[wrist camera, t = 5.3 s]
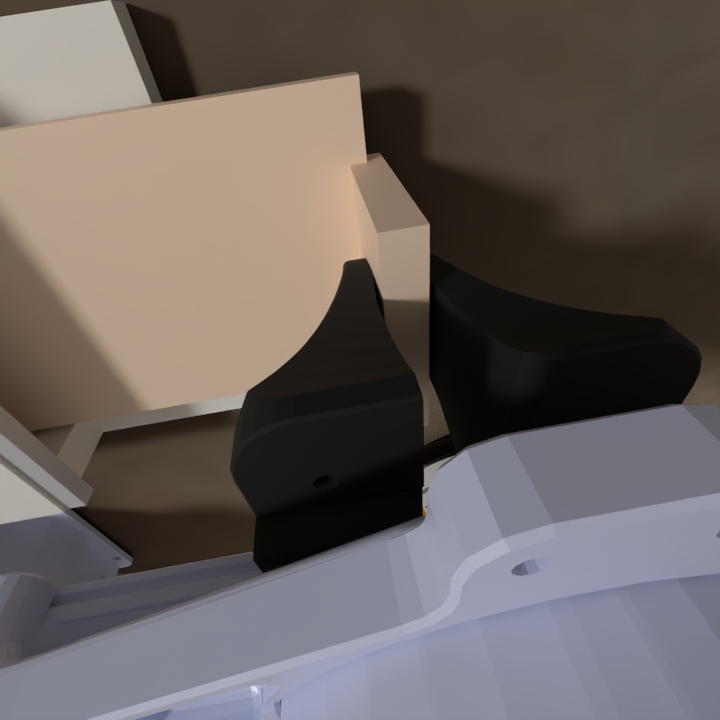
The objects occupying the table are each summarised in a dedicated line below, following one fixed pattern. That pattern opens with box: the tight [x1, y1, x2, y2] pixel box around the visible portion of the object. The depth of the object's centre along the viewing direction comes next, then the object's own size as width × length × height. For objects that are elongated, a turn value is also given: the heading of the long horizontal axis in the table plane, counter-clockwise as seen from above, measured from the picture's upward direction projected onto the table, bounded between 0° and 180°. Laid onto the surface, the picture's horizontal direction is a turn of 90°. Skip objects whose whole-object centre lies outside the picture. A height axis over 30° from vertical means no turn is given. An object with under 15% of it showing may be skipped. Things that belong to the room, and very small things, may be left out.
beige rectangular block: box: [0, 72, 430, 431], centre depth 11 cm, size 10×16×6 cm, turn 97°
